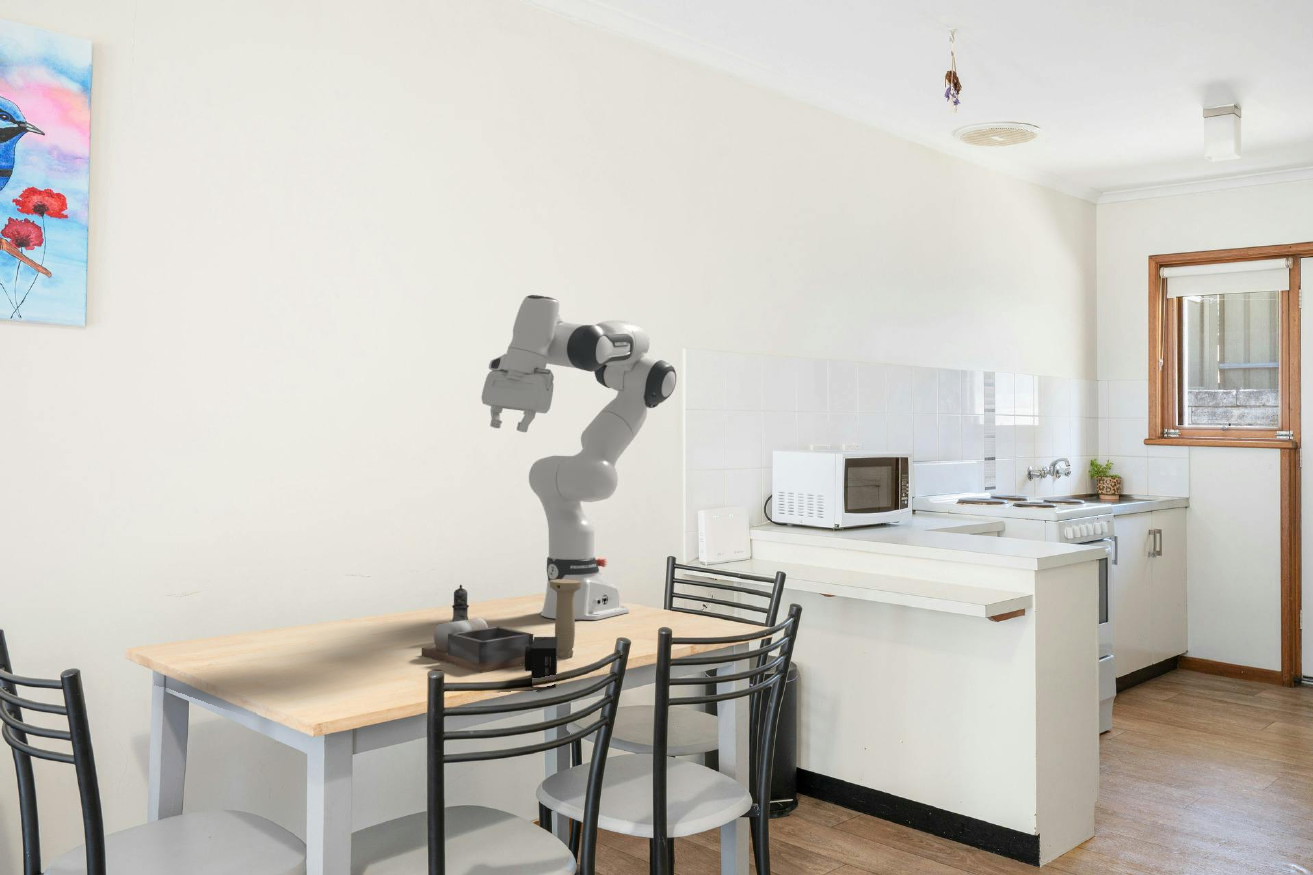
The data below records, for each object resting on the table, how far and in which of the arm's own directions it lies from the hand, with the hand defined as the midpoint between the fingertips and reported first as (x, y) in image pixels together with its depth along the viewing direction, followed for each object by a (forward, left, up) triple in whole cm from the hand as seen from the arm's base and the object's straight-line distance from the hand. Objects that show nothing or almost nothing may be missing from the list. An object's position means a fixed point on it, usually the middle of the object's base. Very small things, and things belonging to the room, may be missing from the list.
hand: (507, 429), depth 217 cm
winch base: (+15, +10, -45) cm, 48 cm away
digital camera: (+16, +32, -45) cm, 58 cm away
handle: (+1, +20, -45) cm, 49 cm away
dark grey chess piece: (+7, -7, -45) cm, 46 cm away
